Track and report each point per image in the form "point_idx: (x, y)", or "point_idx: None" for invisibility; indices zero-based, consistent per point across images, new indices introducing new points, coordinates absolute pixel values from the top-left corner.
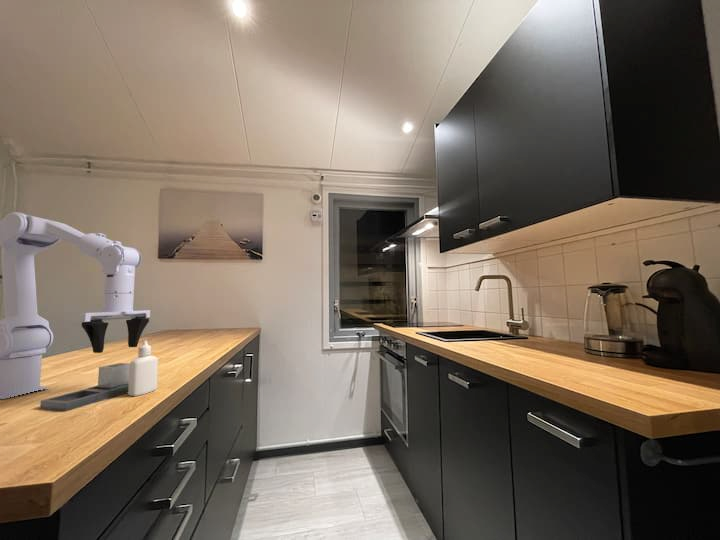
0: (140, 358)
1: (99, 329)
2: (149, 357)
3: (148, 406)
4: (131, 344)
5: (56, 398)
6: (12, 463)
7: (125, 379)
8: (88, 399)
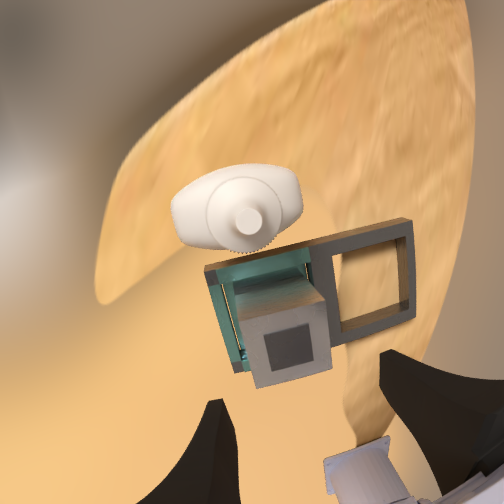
0: (272, 181)
1: (489, 385)
2: (227, 175)
3: (290, 40)
4: (229, 425)
5: (394, 313)
6: (467, 32)
7: (258, 291)
8: (366, 230)
